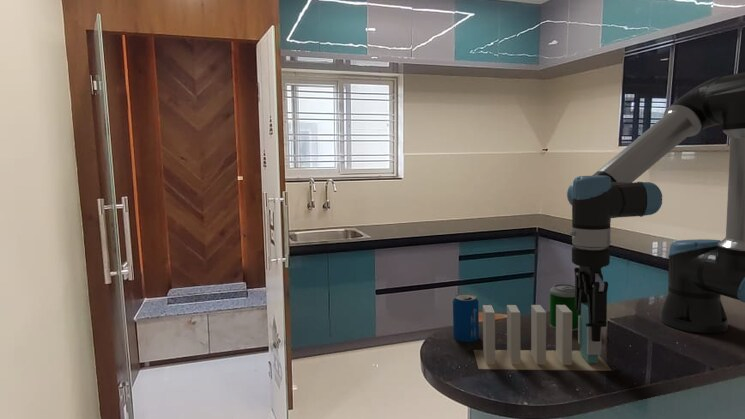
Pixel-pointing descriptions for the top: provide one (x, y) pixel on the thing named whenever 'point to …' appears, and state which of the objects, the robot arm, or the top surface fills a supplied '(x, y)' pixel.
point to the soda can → (563, 303)
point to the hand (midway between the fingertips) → (589, 348)
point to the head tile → (585, 335)
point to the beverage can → (465, 318)
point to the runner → (530, 364)
